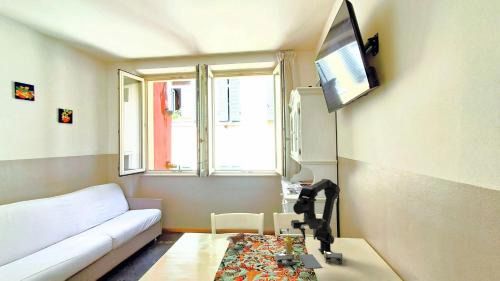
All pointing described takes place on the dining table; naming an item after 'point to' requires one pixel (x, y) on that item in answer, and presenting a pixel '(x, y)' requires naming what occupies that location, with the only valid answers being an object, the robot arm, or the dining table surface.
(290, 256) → the shaft
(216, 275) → the dining table surface
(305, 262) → the seat mat
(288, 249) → the pressure relief valve
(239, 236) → the bull figurine
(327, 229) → the robot arm
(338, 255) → the shaft
